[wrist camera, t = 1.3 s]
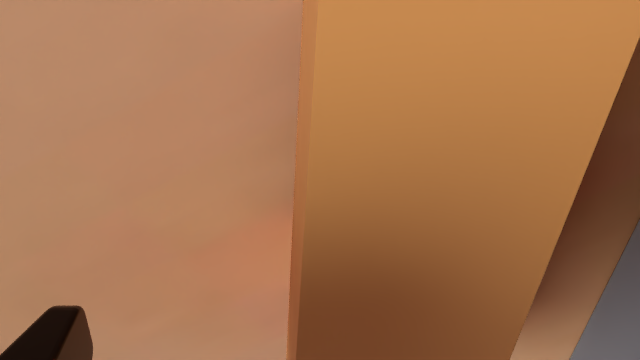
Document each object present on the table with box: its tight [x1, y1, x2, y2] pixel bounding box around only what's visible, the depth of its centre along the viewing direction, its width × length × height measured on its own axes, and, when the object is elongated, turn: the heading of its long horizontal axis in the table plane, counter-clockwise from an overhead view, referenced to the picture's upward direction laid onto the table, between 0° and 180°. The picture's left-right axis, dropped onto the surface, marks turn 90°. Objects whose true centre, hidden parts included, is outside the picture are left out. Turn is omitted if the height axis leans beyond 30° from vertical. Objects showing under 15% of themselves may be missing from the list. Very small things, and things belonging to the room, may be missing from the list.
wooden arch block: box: [286, 0, 640, 360], centre depth 11 cm, size 13×3×6 cm, turn 176°
